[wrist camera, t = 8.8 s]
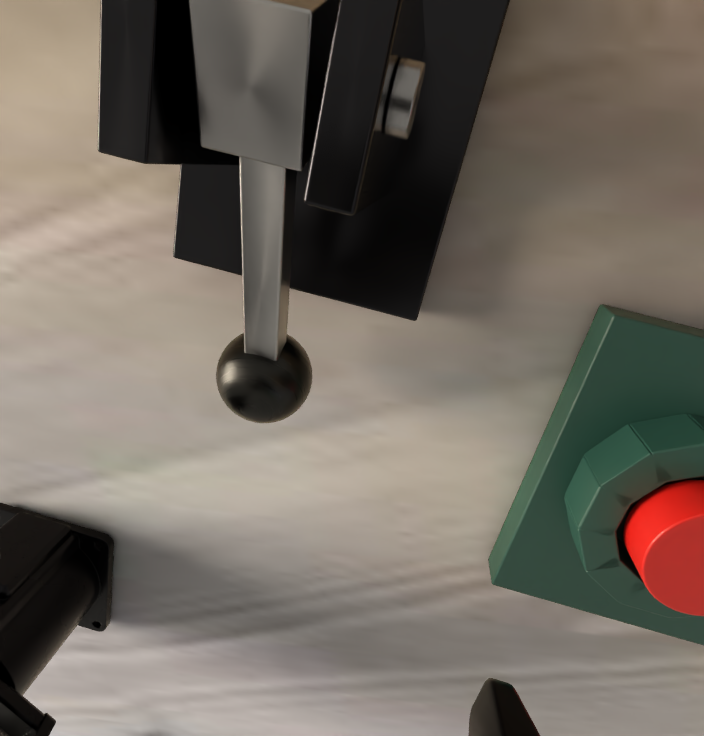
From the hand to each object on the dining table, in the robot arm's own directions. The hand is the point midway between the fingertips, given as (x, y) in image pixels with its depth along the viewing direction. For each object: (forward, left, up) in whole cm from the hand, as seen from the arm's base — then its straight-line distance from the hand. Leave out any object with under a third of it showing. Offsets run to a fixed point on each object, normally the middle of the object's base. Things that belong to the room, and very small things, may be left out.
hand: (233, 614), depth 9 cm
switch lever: (+5, +2, -9) cm, 10 cm away
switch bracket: (+9, +2, -12) cm, 15 cm away
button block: (-1, -13, -12) cm, 18 cm away
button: (-1, -13, -9) cm, 16 cm away
